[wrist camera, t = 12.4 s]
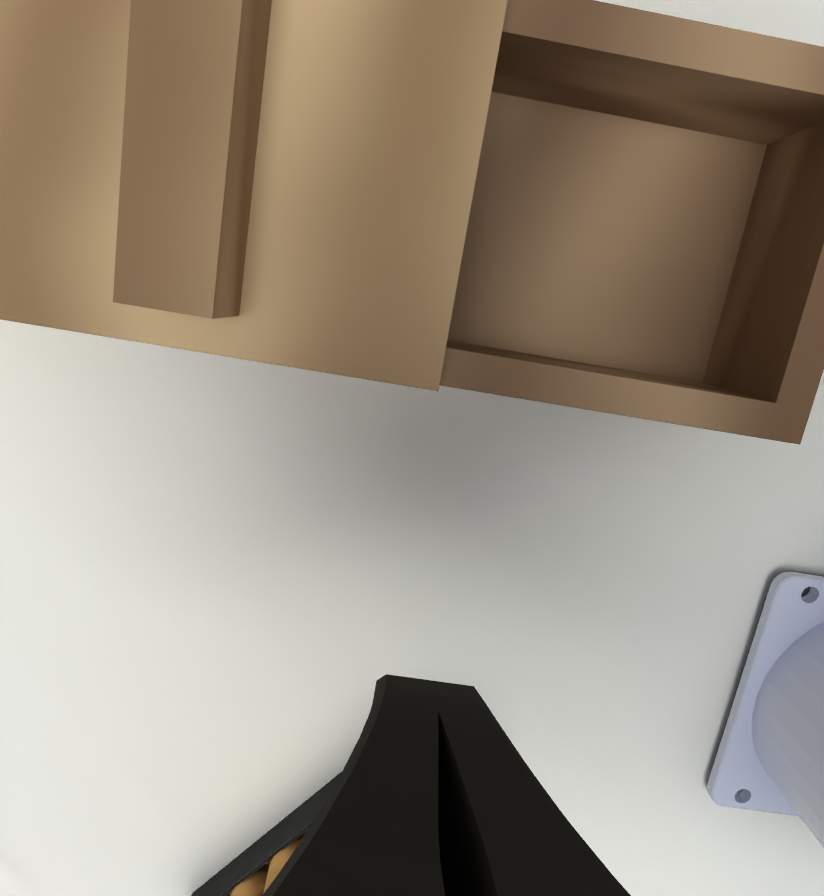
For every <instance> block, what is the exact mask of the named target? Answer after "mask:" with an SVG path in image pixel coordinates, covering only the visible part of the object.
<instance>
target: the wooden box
mask: <svg viewBox="0 0 824 896" xmlns="http://www.w3.org/2000/svg"><path fill="white" fill-rule="evenodd" d="M823 369H824V47H821V46H816V45H811V44H806V43H801V42H796V41H791V40H786V39H781V38H776V37H772V36H767V35H762V34H757V33H752V32H747V31H742V30H737V29H732V28H727V27H722V26H717V25H712V24H707V23H702V22H698V21H693V20H688V19H683V18H678V17H673V16H668V15H663V14H658V13H653V12H648V11H643V10H638V9H633V8H628V7H624V6H619V5H614V4H609V3H604V2H599V1H594V0H508V1H507V6H506V12H505V17H504V23H503V29H502V34H501V40H500V46H499V51H498V57H497V62H496V68H495V74H494V79H493V85H492V91H491V96H490V102H489V108H488V113H487V119H486V124H485V130H484V136H483V141H482V147H481V153H480V158H479V164H478V170H477V175H476V181H475V186H474V192H473V198H472V203H471V209H470V215H469V220H468V226H467V231H466V237H465V243H464V248H463V254H462V260H461V265H460V271H459V277H458V282H457V288H456V293H455V299H454V305H453V310H452V316H451V322H450V327H449V333H448V339H447V344H446V350H445V355H444V361H443V367H442V372H441V378H440V384H439V385H442V386H448V387H454V388H460V389H466V390H472V391H478V392H484V393H490V394H496V395H502V396H508V397H515V398H521V399H527V400H533V401H539V402H545V403H551V404H557V405H563V406H569V407H575V408H581V409H587V410H594V411H600V412H606V413H612V414H618V415H624V416H630V417H636V418H642V419H648V420H654V421H660V422H666V423H673V424H679V425H685V426H691V427H697V428H703V429H709V430H715V431H721V432H727V433H733V434H739V435H746V436H752V437H758V438H764V439H770V440H776V441H782V442H788V443H794V444H800V443H801V440H802V437H803V433H804V430H805V427H806V424H807V421H808V417H809V414H810V411H811V408H812V405H813V401H814V398H815V395H816V392H817V389H818V385H819V382H820V379H821V376H822V373H823Z"/></svg>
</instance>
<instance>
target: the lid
mask: <svg viewBox="0 0 824 896" xmlns="http://www.w3.org/2000/svg"><path fill="white" fill-rule="evenodd" d="M507 1H508V0H0V319H2V320H8V321H14V322H20V323H26V324H32V325H38V326H44V327H51V328H57V329H63V330H69V331H75V332H81V333H87V334H93V335H99V336H105V337H112V338H118V339H124V340H130V341H136V342H142V343H148V344H154V345H160V346H166V347H173V348H179V349H185V350H191V351H197V352H203V353H209V354H215V355H221V356H227V357H234V358H240V359H246V360H252V361H258V362H264V363H270V364H276V365H282V366H288V367H295V368H301V369H307V370H313V371H319V372H325V373H331V374H337V375H343V376H349V377H356V378H362V379H368V380H374V381H380V382H386V383H392V384H398V385H404V386H410V387H417V388H423V389H429V390H435V391H438V389H439V384H440V378H441V372H442V367H443V361H444V355H445V350H446V344H447V339H448V333H449V327H450V322H451V316H452V310H453V305H454V299H455V293H456V288H457V282H458V277H459V271H460V265H461V260H462V254H463V248H464V243H465V237H466V231H467V226H468V220H469V215H470V209H471V203H472V198H473V192H474V186H475V181H476V175H477V170H478V164H479V158H480V153H481V147H482V141H483V136H484V130H485V124H486V119H487V113H488V108H489V102H490V96H491V91H492V85H493V79H494V74H495V68H496V62H497V57H498V51H499V46H500V40H501V34H502V29H503V23H504V17H505V12H506V6H507Z"/></svg>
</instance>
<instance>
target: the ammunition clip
mask: <svg viewBox="0 0 824 896" xmlns="http://www.w3.org/2000/svg"><path fill="white" fill-rule="evenodd" d="M342 772H343V771H342ZM342 772H341V773H340V774H338V775H337V776H336V777H335V778H333V779H332V780H331V781H330V782H329V783H327V784H326V785H325V786H324V787H322V788H321V789H320V790H319V791H318V792H316V793H315V794H314V795H313V796H311V797H310V798H309V799H308V800H306V801H305V802H304V803H303V804H302V805H300V806H299V807H298V808H297V809H295V810H294V811H293V812H292V813H290V814H289V815H288V816H287V817H286V818H284V819H283V820H282V821H281V822H279V823H278V824H277V825H276V826H274V827H273V828H272V829H271V830H270V831H268V832H267V833H266V834H265V835H263V836H262V837H261V838H260V839H259V840H257V841H256V842H255V843H254V844H252V845H251V846H250V847H249V848H247V849H246V850H245V851H244V852H243V853H241V854H240V855H239V856H238V857H236V858H235V859H234V860H233V861H231V862H230V863H229V864H228V865H227V866H225V867H224V868H223V869H222V870H220V871H219V872H218V873H217V874H215V875H214V876H213V877H212V878H211V879H209V880H208V881H207V882H206V883H204V884H203V885H202V886H201V887H200V888H198V889H197V890H196V891H195V892H193V894H192V896H262V895H263V894H264V892H265V891H266V890H267V888H268V887H269V886H270V884H271V883H272V881H273V880H274V879H275V877H276V876H277V875H278V873H279V872H280V871H281V869H282V868H283V866H284V865H285V863H286V862H287V861H288V859H289V858H290V856H291V855H292V853H293V852H294V850H295V849H296V847H297V846H298V844H299V843H300V841H301V840H302V838H303V837H304V835H305V834H306V832H307V831H308V829H309V828H310V826H311V824H312V823H313V821H314V819H315V818H316V816H317V814H318V813H319V811H320V809H321V808H322V806H323V804H324V803H325V801H326V799H327V798H328V796H329V795H330V793H331V791H332V790H333V788H334V786H335V785H336V783H337V781H338V779H339V777H340V776H341V774H342Z"/></svg>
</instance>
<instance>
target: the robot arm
mask: <svg viewBox="0 0 824 896" xmlns="http://www.w3.org/2000/svg"><path fill="white" fill-rule="evenodd" d="M807 587H810V591H809V593H808V594H807V595H805V596H804V597H801V593H802V592H803V590H804V589H806V588H807ZM741 789H743V791H742V792H740V793H737V791H739V790H741ZM707 790H708V793H709V795H710V796H711V798H712V800H713V801H714V802H715V803H716V804H718V805H721V806H725V807H733V808H741V809H748V810H756V811H764V812H772V813H779V814H787V815H795V816H800V818H801V819H802V820H803V821H804V823H805V824H806V825H807V827H808V828H809V829H810V830H811V832H812V833H813V834H814V836H815V837H816V838H817V839H818V841H819V842H820V843H821V845H822V846H823V847H824V577H823V576H817V575H810V574H803V573H797V572H784V573H781V574H779V575H778V576H777V577H776V578H774V580H773V581H772V583H771V585H770V588H769V592H768V595H767V598H766V601H765V604H764V607H763V611H762V614H761V617H760V620H759V623H758V626H757V629H756V633H755V636H754V639H753V642H752V645H751V648H750V651H749V655H748V658H747V661H746V664H745V667H744V670H743V673H742V677H741V680H740V683H739V686H738V689H737V692H736V696H735V699H734V702H733V705H732V708H731V711H730V714H729V718H728V721H727V724H726V727H725V730H724V733H723V736H722V740H721V743H720V746H719V749H718V752H717V755H716V759H715V762H714V765H713V768H712V771H711V774H710V777H709V781H708V784H707ZM736 793H737V794H736ZM262 896H631V895H630V894H629V893H628V892H627V891H626V890H625V889H624V888H623V886H622V885H621V884H620V883H619V882H618V881H617V880H616V878H615V877H614V876H613V875H612V874H611V873H610V872H609V870H608V869H607V868H606V867H605V865H604V864H603V863H602V862H601V861H600V859H599V858H598V857H597V856H596V855H595V853H594V852H593V851H592V850H591V848H590V847H589V846H588V845H587V844H586V842H585V841H584V840H583V839H582V838H581V836H580V835H579V834H578V833H577V831H576V830H575V829H574V828H573V826H572V825H571V824H570V823H569V821H568V820H567V819H566V817H565V816H564V815H563V814H562V812H561V811H560V810H559V808H558V807H557V806H556V804H555V803H554V802H553V800H552V799H551V797H550V796H549V795H548V793H547V792H546V791H545V789H544V788H543V787H542V785H541V784H540V782H539V781H538V780H537V778H536V777H535V776H534V774H533V773H532V771H531V770H530V769H529V767H528V766H527V764H526V763H525V761H524V760H523V759H522V757H521V756H520V754H519V753H518V751H517V750H516V748H515V747H514V745H513V744H512V742H511V741H510V740H509V738H508V737H507V735H506V734H505V732H504V731H503V729H502V728H501V726H500V725H499V723H498V722H497V720H496V719H495V717H494V716H493V714H492V712H491V711H490V709H489V708H488V706H487V705H486V703H485V702H484V700H483V699H482V698H481V696H480V695H479V693H478V692H477V690H476V689H475V687H474V686H467V685H459V684H452V683H445V682H437V681H430V680H423V679H416V678H408V677H401V676H394V675H385V676H383V677H382V678H380V679H379V680H377V681H376V687H375V693H374V699H373V704H372V708H371V711H370V714H369V716H368V719H367V721H366V724H365V726H364V729H363V731H362V733H361V736H360V738H359V740H358V742H357V744H356V746H355V748H354V750H353V752H352V754H351V756H350V758H349V760H348V762H347V764H346V766H345V768H344V770H343V772H342V774H341V776H340V777H339V779H338V781H337V783H336V785H335V786H334V788H333V790H332V791H331V793H330V795H329V796H328V798H327V799H326V801H325V803H324V804H323V806H322V808H321V809H320V811H319V813H318V814H317V816H316V818H315V819H314V821H313V823H312V824H311V826H310V828H309V829H308V831H307V832H306V834H305V835H304V837H303V838H302V840H301V841H300V843H299V844H298V846H297V847H296V849H295V850H294V852H293V853H292V855H291V856H290V858H289V859H288V861H287V862H286V863H285V865H284V866H283V868H282V869H281V871H280V872H279V873H278V875H277V876H276V877H275V879H274V880H273V881H272V883H271V884H270V886H269V887H268V888H267V890H266V891H265V892H264V894H263V895H262Z"/></svg>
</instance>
